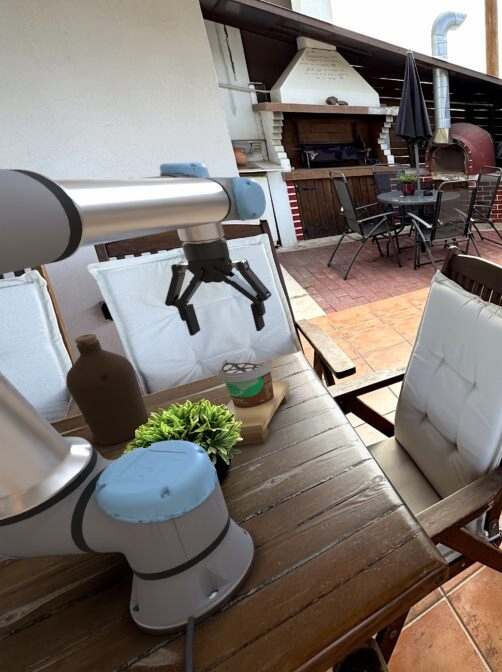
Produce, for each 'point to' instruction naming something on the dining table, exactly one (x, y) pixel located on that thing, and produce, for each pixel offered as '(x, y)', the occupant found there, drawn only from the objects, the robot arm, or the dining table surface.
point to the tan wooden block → (259, 415)
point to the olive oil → (106, 392)
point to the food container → (247, 383)
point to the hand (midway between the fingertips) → (228, 330)
